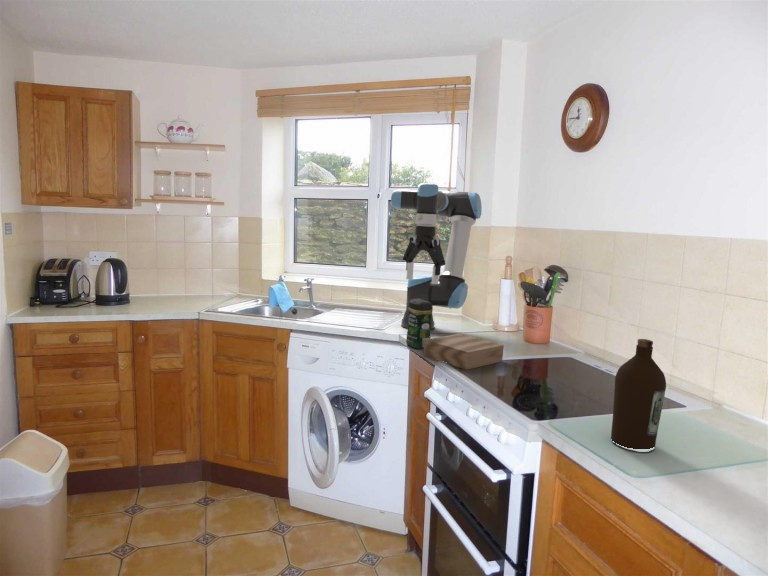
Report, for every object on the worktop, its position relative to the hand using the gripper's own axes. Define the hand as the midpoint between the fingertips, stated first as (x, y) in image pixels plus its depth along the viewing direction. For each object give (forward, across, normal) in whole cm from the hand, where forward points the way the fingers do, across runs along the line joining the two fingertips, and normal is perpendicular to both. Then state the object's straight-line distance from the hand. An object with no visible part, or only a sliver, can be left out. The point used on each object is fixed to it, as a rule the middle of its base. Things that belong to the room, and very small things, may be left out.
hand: (421, 281), depth 202 cm
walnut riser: (+25, +21, +2) cm, 33 cm away
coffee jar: (+26, 0, 0) cm, 26 cm away
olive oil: (+26, +92, -21) cm, 98 cm away
